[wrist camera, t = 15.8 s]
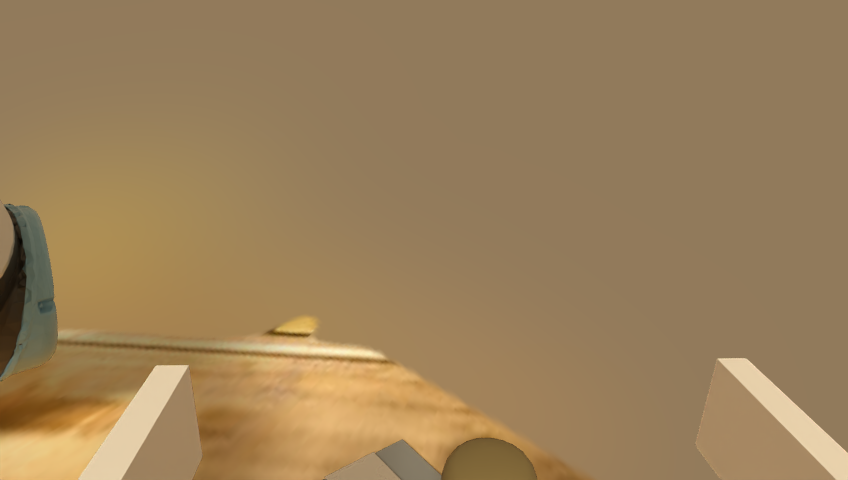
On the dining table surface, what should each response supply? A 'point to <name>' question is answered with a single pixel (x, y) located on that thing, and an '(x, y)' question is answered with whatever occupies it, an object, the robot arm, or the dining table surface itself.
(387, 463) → the mounting board
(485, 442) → the cork
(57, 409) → the dining table surface
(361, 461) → the metal rail
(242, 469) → the dining table surface
